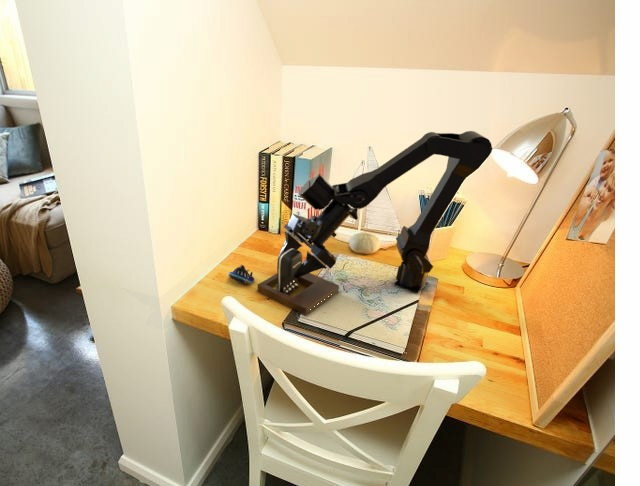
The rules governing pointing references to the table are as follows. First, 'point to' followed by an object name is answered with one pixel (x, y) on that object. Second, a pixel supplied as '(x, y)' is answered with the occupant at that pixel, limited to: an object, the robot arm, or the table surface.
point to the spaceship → (241, 275)
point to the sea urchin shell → (364, 243)
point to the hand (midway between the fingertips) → (286, 268)
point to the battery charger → (288, 270)
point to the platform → (301, 293)
